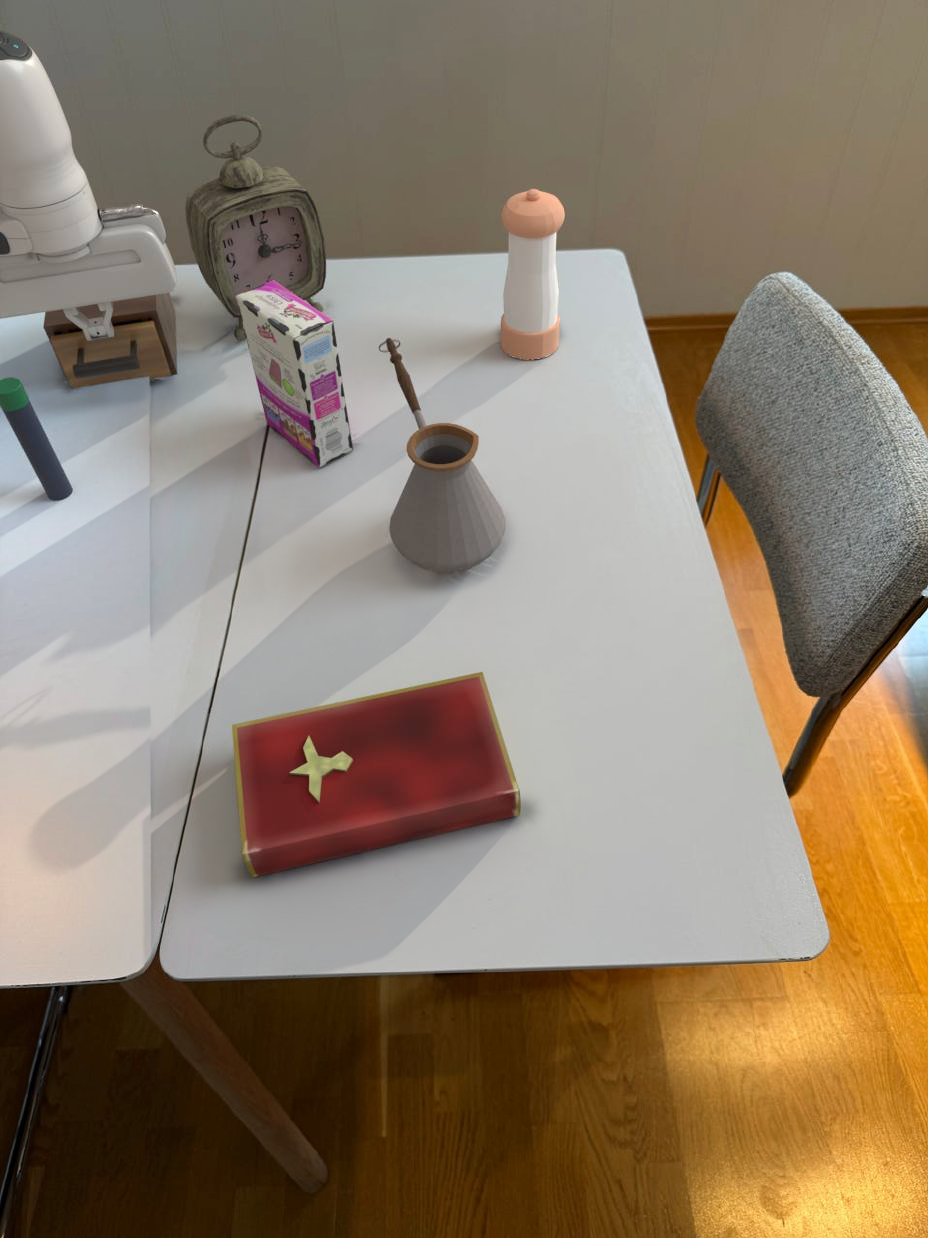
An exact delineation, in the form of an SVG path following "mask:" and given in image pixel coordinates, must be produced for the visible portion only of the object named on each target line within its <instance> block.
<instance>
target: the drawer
mask: <svg viewBox="0 0 928 1238" xmlns="http://www.w3.org/2000/svg"><path fill="white" fill-rule="evenodd" d="M112 325H113V329H114V337H108V338H102V339H96V340H90V341H87V339H86V337H85V334H84V332H83V329H82V328H80V329H74V330H67V331H61V333H62V335H55V336H52V337H51V343H52V345H53V347H54V350H55V352H56V354H57V356H58V359H59V361H60V363H61V365H62V368H63V370H64V372H65V374H66V377H67V379H68V381H67V382H68V384H69V386H70V388H71V389H78V388H85V387H91V386H96V385H103V384H104V385H105V384H109V383H117V382H123V381H129V380H136V379H141V378H147V377H148V380H155V379H160V378H166V377H171V375H170V368H169V365H168V362H167V359H166V356H165V353H164V350H163V347H162V344H161V341H160V338H159V335H158V332H157V329H156V326H155V323H154V321H152V320H151V318H147V319H140V320H133V321H127V322H120V323H113V324H112ZM51 343H50V344H51ZM52 345H51V346H52ZM54 350H53V351H54ZM55 352H54V353H55ZM56 354H55V355H56ZM58 359H57V360H58ZM59 361H58V362H59ZM60 363H59V364H60ZM62 368H61V369H62ZM63 370H62V371H63ZM66 377H65V378H66ZM67 379H66V380H67Z"/></svg>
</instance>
